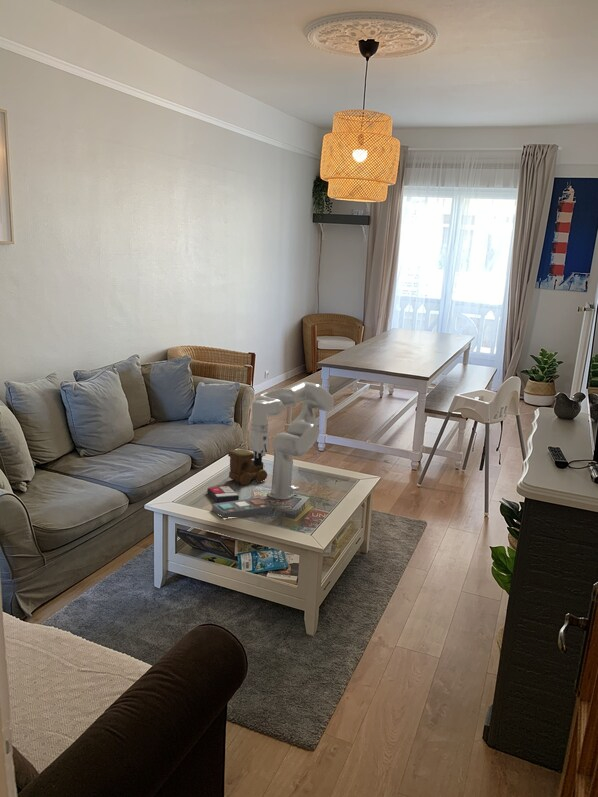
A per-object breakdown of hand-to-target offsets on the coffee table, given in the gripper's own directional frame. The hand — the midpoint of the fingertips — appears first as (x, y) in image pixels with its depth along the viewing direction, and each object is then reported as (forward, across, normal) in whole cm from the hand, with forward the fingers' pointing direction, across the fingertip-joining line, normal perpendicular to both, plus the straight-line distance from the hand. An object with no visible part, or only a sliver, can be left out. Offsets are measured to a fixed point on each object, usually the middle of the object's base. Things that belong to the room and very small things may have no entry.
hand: (257, 465), depth 286 cm
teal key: (+17, -5, +19) cm, 26 cm away
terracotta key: (+18, -5, +3) cm, 19 cm away
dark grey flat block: (+19, -5, +11) cm, 22 cm away
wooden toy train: (+21, +30, -13) cm, 39 cm away
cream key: (+18, -5, +11) cm, 21 cm away
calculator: (+20, +14, +11) cm, 26 cm away
